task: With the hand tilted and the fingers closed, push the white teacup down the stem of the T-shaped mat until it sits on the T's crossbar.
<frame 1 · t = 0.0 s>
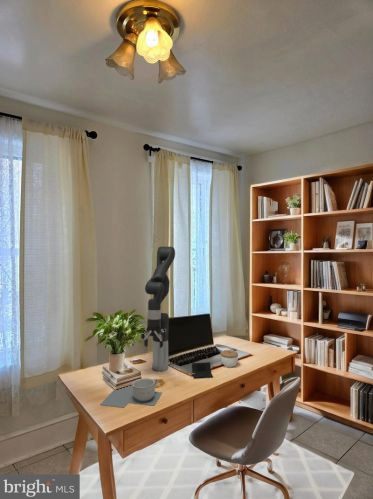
hand: (153, 347, 176), 17 cm above the table, tool pointing down, fingers open, 8 cm apart
lidded jar: (229, 365, 194), on the table
t mat: (136, 396, 155), on the table
teacup: (146, 397, 154), resting on t mat
handheld gaming console: (202, 375, 180), on the table
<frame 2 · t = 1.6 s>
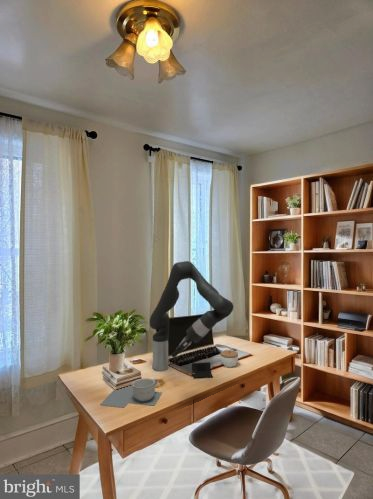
hand: (174, 353, 150), 23 cm above the table, tool tilted 45°, fingers open, 8 cm apart
nothing on the table moved.
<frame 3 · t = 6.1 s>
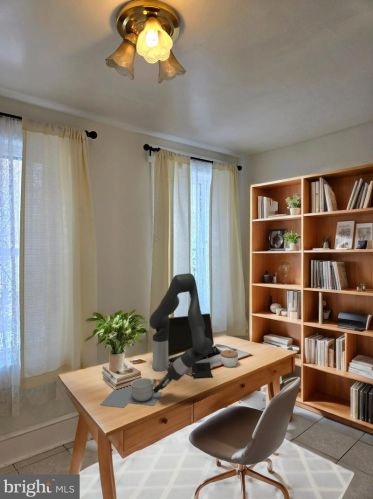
hand: (154, 391, 153), 4 cm above the table, tool tilted 45°, fingers closed
teacup: (145, 397, 154), resting on t mat, touching gripper
everything else where it was.
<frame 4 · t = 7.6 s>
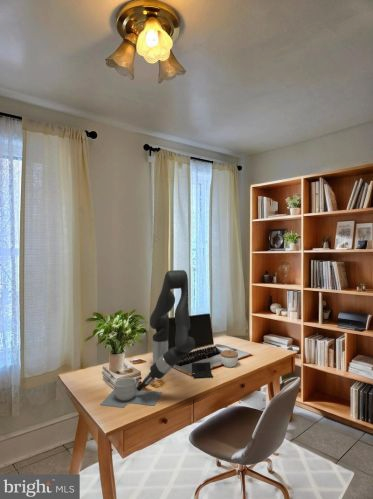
hand: (138, 389, 155), 4 cm above the table, tool tilted 45°, fingers closed
teacup: (128, 397, 155), resting on t mat, touching gripper
everything else where it was.
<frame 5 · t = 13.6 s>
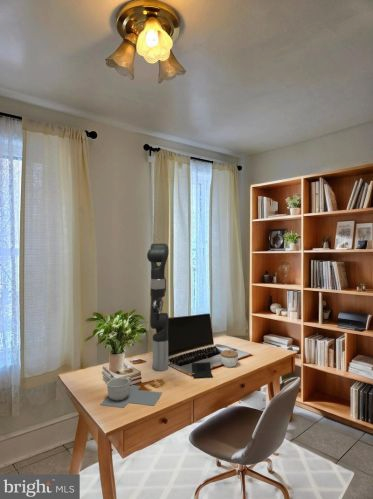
hand: (157, 320, 164), 35 cm above the table, tool pointing down, fingers closed
teacup: (121, 396, 155), resting on t mat
everything else where it was.
at the end: teacup inside the target area (2.0 cm from its centre), resting on t mat; teacup tilted 0°; teacup moved 12.6 cm from its start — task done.
